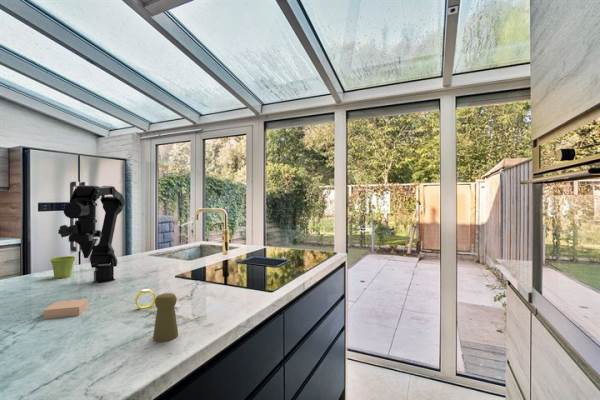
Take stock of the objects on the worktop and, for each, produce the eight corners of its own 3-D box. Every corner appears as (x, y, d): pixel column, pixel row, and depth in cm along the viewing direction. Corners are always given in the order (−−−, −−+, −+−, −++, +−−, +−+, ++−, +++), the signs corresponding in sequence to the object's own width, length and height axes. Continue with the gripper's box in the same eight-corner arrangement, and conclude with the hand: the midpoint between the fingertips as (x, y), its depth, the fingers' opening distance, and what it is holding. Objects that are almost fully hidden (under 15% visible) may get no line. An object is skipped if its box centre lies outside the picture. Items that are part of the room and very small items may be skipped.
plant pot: (80, 275, 144) (80, 256, 144) (59, 280, 135) (59, 260, 135) (66, 273, 147) (66, 255, 147) (44, 278, 138) (44, 259, 138)
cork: (158, 331, 83) (158, 291, 83) (181, 331, 83) (181, 290, 83) (149, 342, 77) (149, 298, 77) (173, 341, 77) (174, 297, 77)
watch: (153, 305, 104) (155, 287, 104) (155, 307, 102) (157, 289, 102) (134, 308, 100) (135, 289, 101) (135, 310, 98) (137, 291, 98)
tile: (55, 301, 99) (43, 310, 91) (88, 298, 102) (79, 306, 94) (55, 310, 99) (43, 320, 91) (88, 307, 102) (79, 316, 94)
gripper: (70, 217, 125) (70, 255, 125) (51, 218, 108) (50, 263, 107) (102, 216, 129) (102, 254, 129) (88, 218, 111) (87, 261, 111)
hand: (86, 257), depth 119 cm, fingers closed
